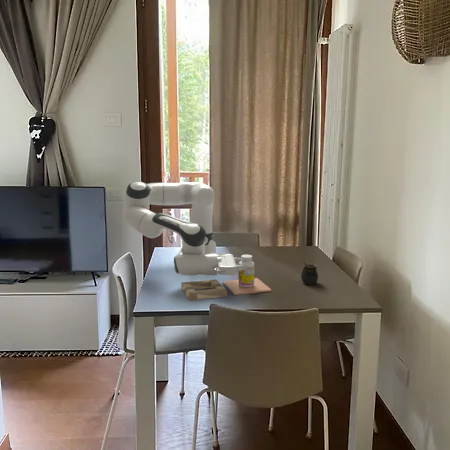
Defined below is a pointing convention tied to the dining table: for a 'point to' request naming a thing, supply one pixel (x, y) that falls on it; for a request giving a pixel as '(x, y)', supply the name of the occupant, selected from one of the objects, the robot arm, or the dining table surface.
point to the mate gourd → (309, 274)
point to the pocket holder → (204, 294)
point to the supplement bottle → (246, 272)
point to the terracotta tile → (239, 290)
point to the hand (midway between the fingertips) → (245, 263)
